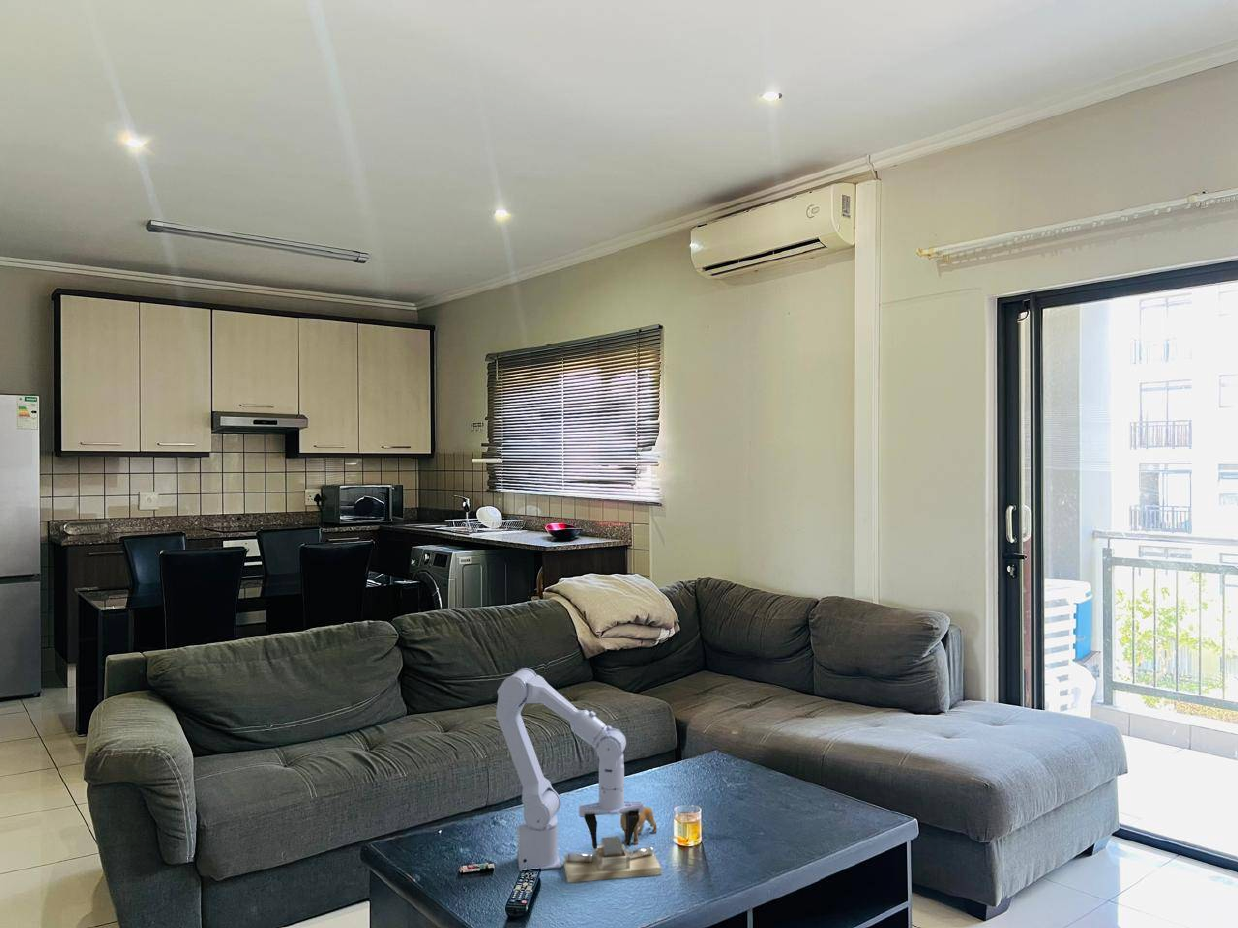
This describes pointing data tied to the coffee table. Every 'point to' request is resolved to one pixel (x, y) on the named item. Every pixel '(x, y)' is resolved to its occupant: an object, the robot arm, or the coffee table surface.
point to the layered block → (611, 847)
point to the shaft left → (578, 857)
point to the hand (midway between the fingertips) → (611, 845)
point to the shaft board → (611, 867)
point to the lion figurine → (640, 823)
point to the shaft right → (641, 852)
